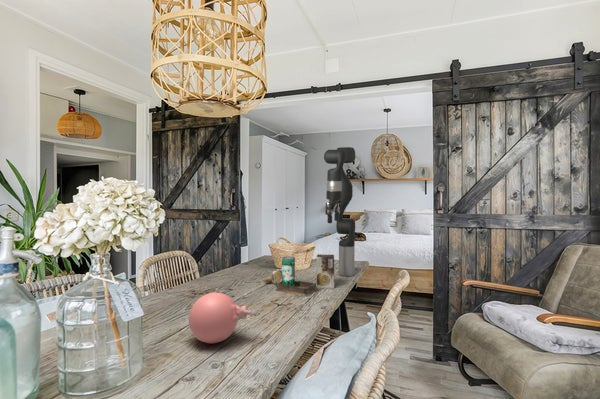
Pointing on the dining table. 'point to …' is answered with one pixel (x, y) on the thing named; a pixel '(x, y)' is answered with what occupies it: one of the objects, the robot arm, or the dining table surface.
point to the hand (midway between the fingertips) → (333, 221)
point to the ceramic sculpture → (275, 277)
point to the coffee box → (325, 271)
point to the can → (288, 270)
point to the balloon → (215, 317)
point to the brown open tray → (297, 288)
